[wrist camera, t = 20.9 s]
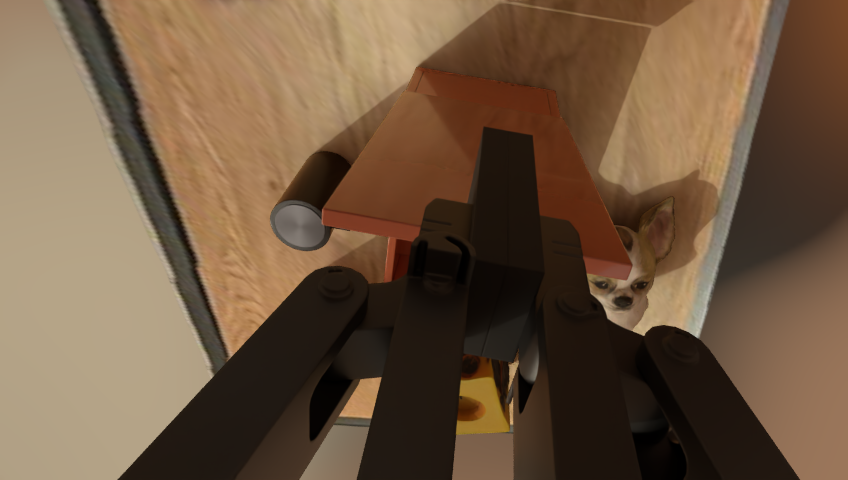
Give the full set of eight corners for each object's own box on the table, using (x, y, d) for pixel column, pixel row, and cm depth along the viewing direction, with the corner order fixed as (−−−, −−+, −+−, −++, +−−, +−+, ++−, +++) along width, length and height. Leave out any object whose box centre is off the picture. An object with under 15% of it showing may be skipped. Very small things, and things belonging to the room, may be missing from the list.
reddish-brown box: (502, 273, 59) (502, 315, 54) (393, 253, 59) (382, 293, 54) (555, 90, 46) (561, 120, 41) (416, 66, 46) (404, 93, 41)
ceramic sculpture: (562, 356, 53) (569, 230, 45) (555, 302, 60) (560, 186, 52) (673, 359, 51) (701, 228, 43) (652, 303, 58) (672, 182, 51)
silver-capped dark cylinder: (303, 193, 56) (271, 245, 48) (303, 146, 53) (268, 195, 45) (371, 205, 56) (349, 260, 48) (375, 159, 53) (352, 210, 45)
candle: (415, 318, 65) (402, 382, 57) (495, 309, 62) (493, 374, 54) (436, 372, 70) (427, 437, 62) (510, 366, 68) (511, 433, 60)
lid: (627, 281, 21) (634, 265, 20) (320, 225, 21) (321, 208, 21) (560, 128, 40) (563, 118, 40) (402, 100, 41) (403, 90, 40)
